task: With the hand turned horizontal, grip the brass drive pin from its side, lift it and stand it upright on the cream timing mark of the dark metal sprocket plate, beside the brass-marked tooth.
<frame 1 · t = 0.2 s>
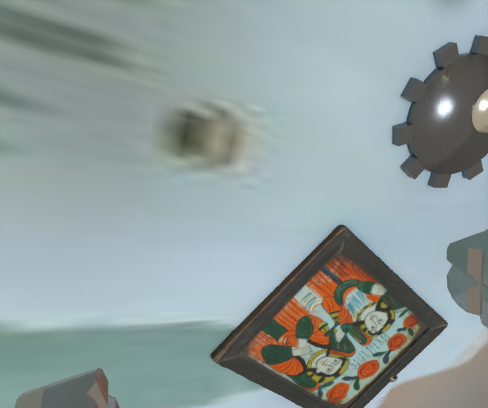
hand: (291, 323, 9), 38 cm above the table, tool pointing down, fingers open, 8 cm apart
sprocket plate: (456, 115, 57), on the table
painting: (337, 333, 69), on the table
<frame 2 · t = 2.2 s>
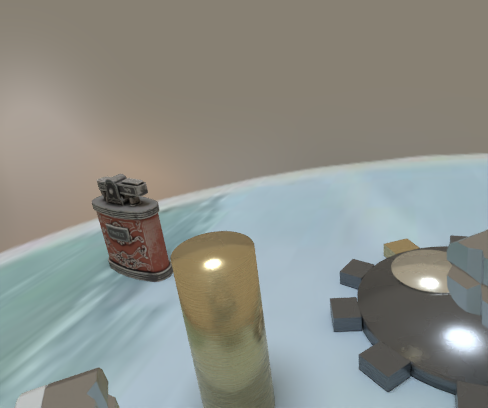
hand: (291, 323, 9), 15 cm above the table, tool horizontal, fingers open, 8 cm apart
sprocket plate: (470, 314, 31), on the table
drive pin: (239, 404, 26), on the table
lighter: (141, 270, 44), on the table
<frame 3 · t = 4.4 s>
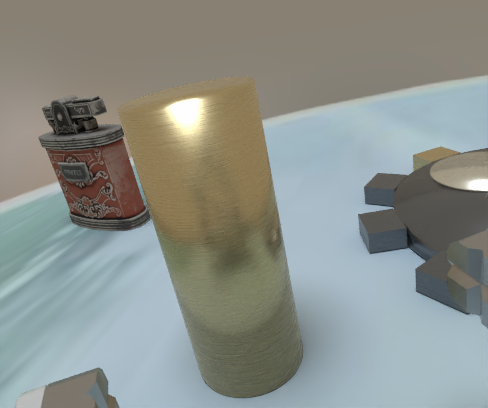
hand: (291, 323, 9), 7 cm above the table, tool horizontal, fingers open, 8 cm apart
drive pin: (250, 354, 18), on the table
lighter: (110, 221, 35), on the table
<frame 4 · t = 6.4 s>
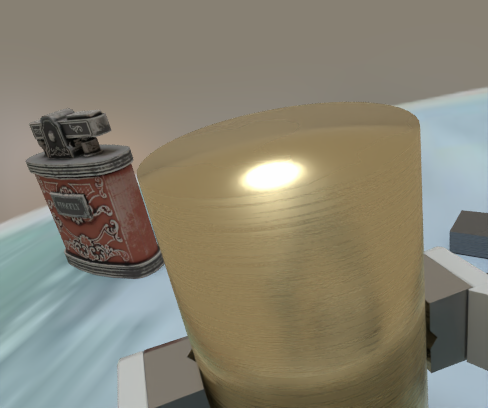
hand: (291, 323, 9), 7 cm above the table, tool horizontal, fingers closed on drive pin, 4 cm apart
lighter: (115, 262, 28), on the table
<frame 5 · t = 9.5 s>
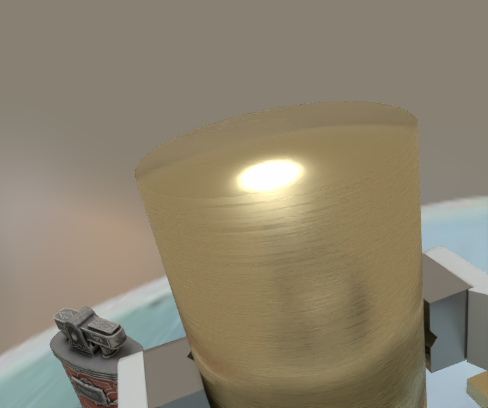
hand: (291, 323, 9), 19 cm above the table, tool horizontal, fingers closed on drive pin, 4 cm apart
when the fingers open (9 cm above the table, at t = 13.0 s): drive pin drops 1 cm, resting on sprocket plate.
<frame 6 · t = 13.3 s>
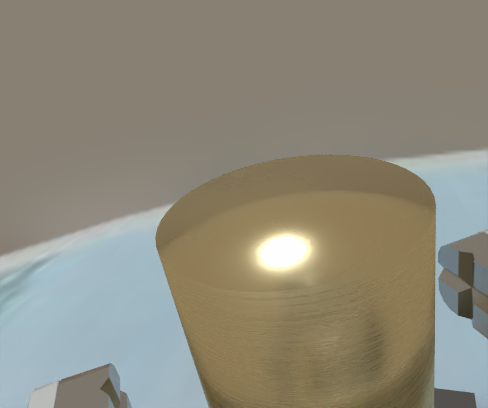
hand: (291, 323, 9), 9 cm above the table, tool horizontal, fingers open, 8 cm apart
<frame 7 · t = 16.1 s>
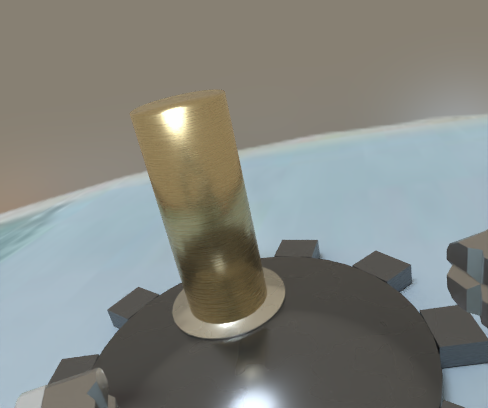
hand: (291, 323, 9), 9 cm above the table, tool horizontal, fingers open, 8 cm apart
sprocket plate: (257, 370, 20), on the table
drive pin: (228, 297, 24), point 1 cm above the table, touching sprocket plate
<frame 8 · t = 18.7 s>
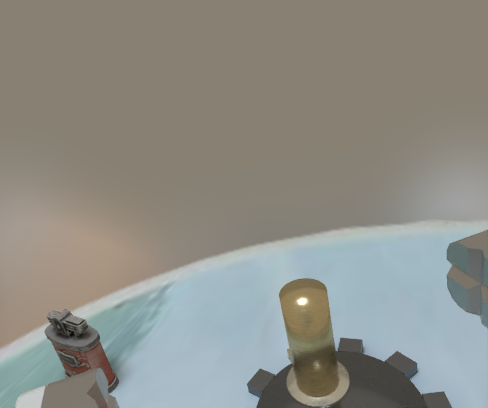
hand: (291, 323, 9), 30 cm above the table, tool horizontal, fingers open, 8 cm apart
drive pin: (317, 379, 44), point 1 cm above the table, touching sprocket plate
lighter: (93, 380, 52), on the table
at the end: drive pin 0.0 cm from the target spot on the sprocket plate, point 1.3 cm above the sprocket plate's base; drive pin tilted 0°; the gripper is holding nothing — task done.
